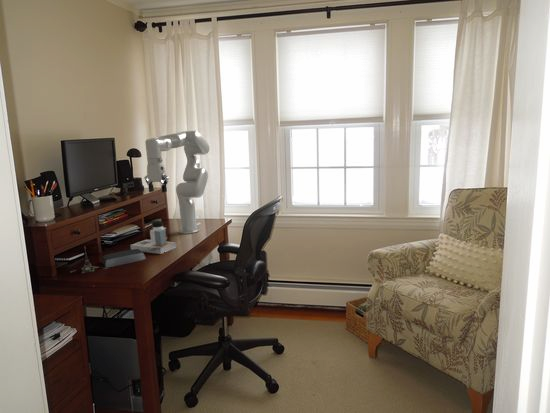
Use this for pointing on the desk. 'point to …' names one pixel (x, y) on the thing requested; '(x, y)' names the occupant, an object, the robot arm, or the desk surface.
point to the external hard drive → (122, 257)
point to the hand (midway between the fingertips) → (157, 191)
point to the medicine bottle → (157, 228)
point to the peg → (160, 237)
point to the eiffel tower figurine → (88, 265)
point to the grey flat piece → (153, 246)
